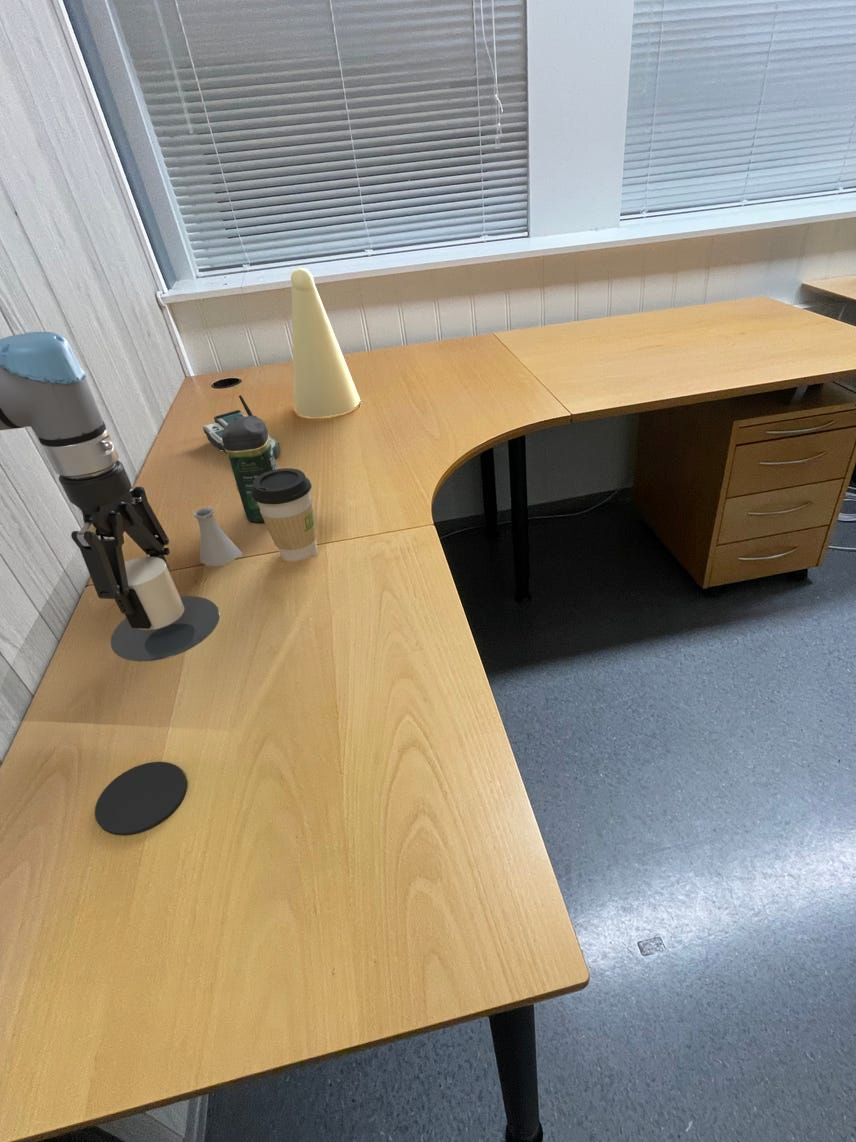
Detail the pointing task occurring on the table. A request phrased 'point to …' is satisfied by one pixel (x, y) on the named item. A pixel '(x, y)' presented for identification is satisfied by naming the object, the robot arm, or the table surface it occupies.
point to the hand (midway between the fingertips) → (155, 609)
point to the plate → (167, 633)
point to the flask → (214, 540)
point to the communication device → (222, 421)
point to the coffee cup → (287, 511)
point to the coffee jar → (248, 458)
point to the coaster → (140, 798)
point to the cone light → (317, 355)
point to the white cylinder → (155, 590)
